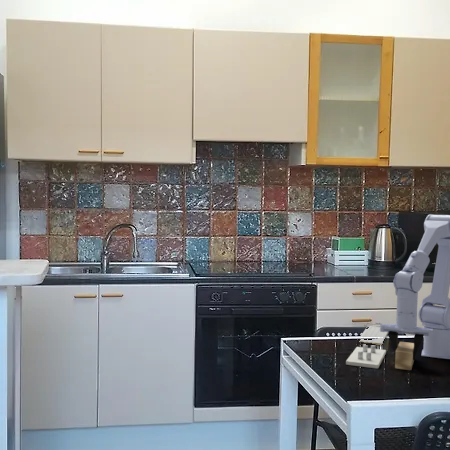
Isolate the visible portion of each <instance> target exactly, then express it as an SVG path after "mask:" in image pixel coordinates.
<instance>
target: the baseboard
mask: <svg viewBox="0 0 450 450" xmlns="http://www.w3.org/2000/svg"><path fill="white" fill-rule="evenodd" d="M367 325H369V322H367V324H366V325H365V324H364V325H363V326H364V327H365V329H364V331H363V332H362V334H361V335H360V336H359V337H383V338H378V339H372V340H368V339H367V340H364V339H361V340H360V341H359V342H364V343H372V344H377V345H382V344H383V345H384V343H383V341H384V339H385V337H386V336H387V337H388V334H389V332H380V326H376V325H381V322H379V323H378V322H377V323H376V325H370V326H367ZM366 327H369V328H368V329H366ZM387 337H386V338H387ZM385 340H386V339H385ZM384 342H385V341H384ZM383 345H382V346H383Z"/></svg>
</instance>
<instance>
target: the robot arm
mask: <svg viewBox="0 0 450 450" xmlns="http://www.w3.org/2000/svg"><path fill="white" fill-rule="evenodd" d="M423 229H424V233H423V235H422V238H421V240H420V243H419V245H418V246H417V247H418V248H417V250H414V251H412V252H411V253H410V255H409V257H408V259H407V261H406V263H405V265H404V267H403V268H402V270H400V271H399V272H397V273H395V275H394V278H393V280H392V281H393V282H392V283H393V287H394V291H395V292H394V293H395V294H394V295H395V296H396V317H395V318H396V320H395V321H396V323H395V324H383V323H380V324H379V325H380V326H379V327H380V332H389V333H388V335H387V337H388V338H389V341H390V344H391V345H392V350H393V355H394V357H395V354H396V349H397V347H398V345H399V343H398V342H399V341H398V340H399V334H402V335H403V334H405V335H414V336H413V343H414V352H413V360H414V361H416V359H417V353H418V350H419V348H420V345H421V344H422V342H423V349H422V350H421V357H426V358H427V357H428V358H429V357H430V358H437V359H445V360H450V298H449V293H450V214H432V213H430V214H428V215H426V218H425V219H424V222H423ZM436 245H438V248H437V255H436V261H435V267H434V273H433V278H432V279H433V280H432V284H431V290H430V294H429V295H427V296H425V297H424V298H423V299H422V300H421V305H420V307H419V309H418V300H419V298H418V297H419V295H418V294H419V293H418V292H419V291H420V290H421V289H422V287H423V280H424V273H425V272H426V269H427V268H428V266H429V264H430V261H431V260H430V257H429V255H430V253H431V252H432V251H433V249H434V247H435V246H436ZM418 319H419V322H421V326H423V327H421V326H417V323H418Z"/></svg>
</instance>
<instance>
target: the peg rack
mask: <svg viewBox="0 0 450 450" xmlns="http://www.w3.org/2000/svg"><path fill="white" fill-rule="evenodd" d="M368 346H369V345H366V344H362V346H356V347H355V348H354V350H353V352H351V353H350V355H349V356H348V358H347V359H346V360H345V366H346V365H348V366H355V367H364V368H370V369H371V368H372V369H379V368H380V365H381V364H382V362H383V360H384V357H385V355H386V353H387V350H386V349H379V348H376V345H370V347H368Z"/></svg>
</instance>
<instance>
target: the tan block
mask: <svg viewBox="0 0 450 450" xmlns="http://www.w3.org/2000/svg"><path fill="white" fill-rule="evenodd" d="M398 342H399V343H398V347H397V349H396V354H395V356H394V360H395V361H394V368H395V369H399V370H407V371H412V368H413V365H414V361H415V360H413V352H414V342H406V341H398Z"/></svg>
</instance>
